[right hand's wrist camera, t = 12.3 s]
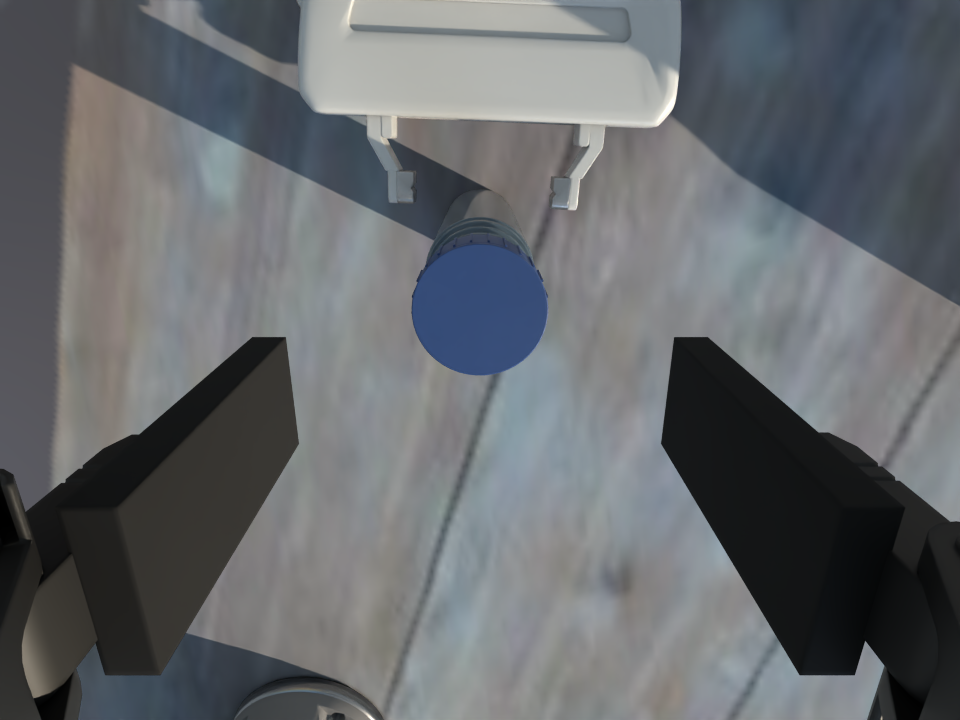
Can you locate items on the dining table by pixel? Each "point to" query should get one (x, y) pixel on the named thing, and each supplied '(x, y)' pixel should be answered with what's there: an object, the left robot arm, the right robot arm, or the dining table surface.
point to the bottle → (479, 220)
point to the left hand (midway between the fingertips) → (482, 205)
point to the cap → (479, 305)
